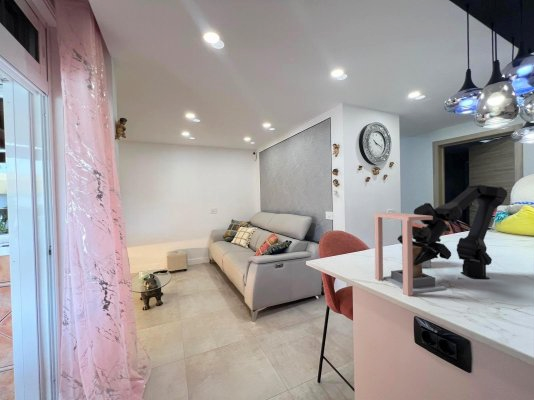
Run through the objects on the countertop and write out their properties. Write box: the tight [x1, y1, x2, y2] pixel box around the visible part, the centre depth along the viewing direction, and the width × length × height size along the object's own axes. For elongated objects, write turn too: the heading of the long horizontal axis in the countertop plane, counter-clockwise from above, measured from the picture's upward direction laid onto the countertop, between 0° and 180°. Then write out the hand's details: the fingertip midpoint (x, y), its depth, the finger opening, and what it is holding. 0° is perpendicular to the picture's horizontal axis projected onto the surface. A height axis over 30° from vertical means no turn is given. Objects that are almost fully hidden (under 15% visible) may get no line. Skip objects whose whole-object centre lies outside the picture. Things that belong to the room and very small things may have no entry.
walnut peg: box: [401, 245, 423, 278], centre depth 83 cm, size 4×4×13 cm
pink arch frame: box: [373, 212, 433, 297], centre depth 82 cm, size 10×17×27 cm, turn 12°
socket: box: [383, 269, 446, 295], centre depth 83 cm, size 14×14×4 cm
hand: (409, 262), depth 82 cm, fingers closed on walnut peg, 4 cm apart
